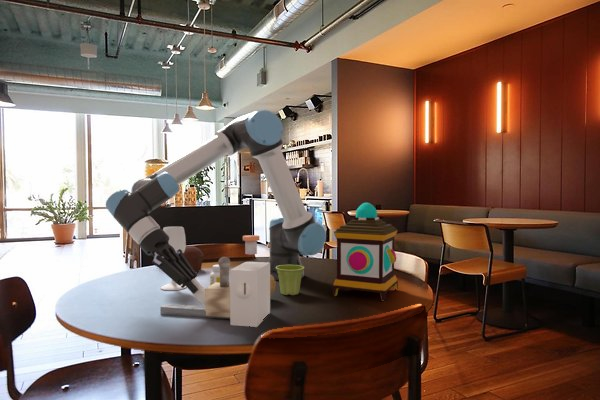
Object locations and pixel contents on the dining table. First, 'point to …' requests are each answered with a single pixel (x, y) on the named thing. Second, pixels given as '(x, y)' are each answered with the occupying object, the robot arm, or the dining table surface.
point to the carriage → (219, 292)
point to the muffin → (194, 257)
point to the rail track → (186, 311)
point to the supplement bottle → (215, 275)
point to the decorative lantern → (366, 253)
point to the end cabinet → (249, 293)
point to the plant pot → (289, 278)
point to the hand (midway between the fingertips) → (206, 299)
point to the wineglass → (177, 242)
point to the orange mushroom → (250, 244)
